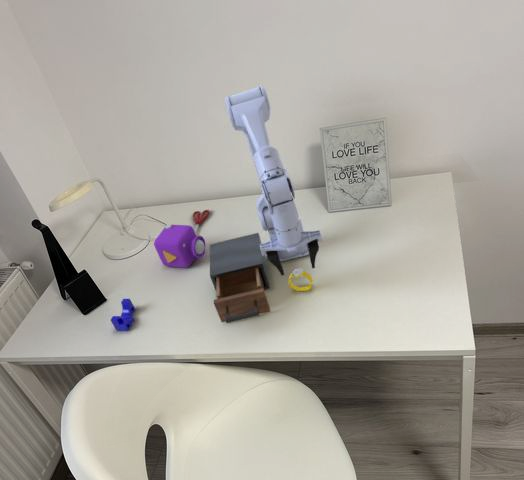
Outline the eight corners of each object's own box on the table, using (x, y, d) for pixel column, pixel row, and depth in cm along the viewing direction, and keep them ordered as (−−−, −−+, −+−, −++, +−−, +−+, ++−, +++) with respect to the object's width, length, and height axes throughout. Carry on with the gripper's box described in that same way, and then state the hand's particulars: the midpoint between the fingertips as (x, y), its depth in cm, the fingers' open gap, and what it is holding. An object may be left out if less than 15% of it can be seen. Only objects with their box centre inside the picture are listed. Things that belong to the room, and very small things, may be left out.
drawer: (272, 325, 130) (265, 305, 126) (222, 336, 132) (213, 317, 127) (266, 279, 143) (260, 259, 139) (220, 290, 145) (213, 270, 140)
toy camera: (205, 269, 154) (193, 241, 148) (161, 272, 158) (148, 245, 152) (214, 245, 162) (203, 217, 155) (172, 248, 166) (160, 221, 159)
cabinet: (270, 288, 142) (262, 263, 136) (219, 300, 143) (209, 276, 137) (265, 257, 152) (258, 232, 146) (218, 268, 153) (209, 244, 147)
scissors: (210, 211, 176) (209, 208, 175) (201, 237, 166) (200, 235, 165) (194, 213, 177) (193, 211, 177) (185, 239, 167) (184, 237, 167)
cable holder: (128, 331, 143) (121, 320, 140) (116, 330, 144) (110, 320, 141) (140, 309, 148) (134, 298, 145) (129, 309, 149) (123, 298, 147)
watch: (315, 285, 138) (311, 267, 134) (313, 293, 137) (309, 275, 133) (292, 286, 140) (287, 268, 136) (290, 293, 138) (285, 275, 135)
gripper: (256, 241, 123) (270, 286, 132) (320, 226, 121) (329, 272, 130) (254, 224, 128) (267, 268, 137) (315, 209, 127) (324, 255, 136)
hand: (297, 269), depth 134 cm, fingers open, 7 cm apart
